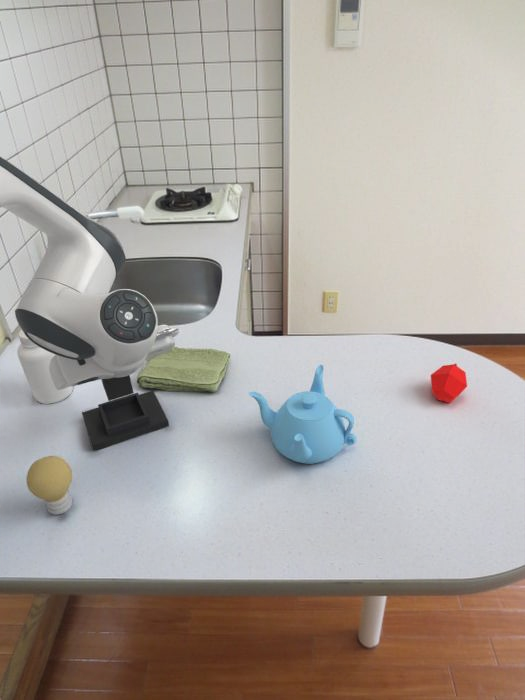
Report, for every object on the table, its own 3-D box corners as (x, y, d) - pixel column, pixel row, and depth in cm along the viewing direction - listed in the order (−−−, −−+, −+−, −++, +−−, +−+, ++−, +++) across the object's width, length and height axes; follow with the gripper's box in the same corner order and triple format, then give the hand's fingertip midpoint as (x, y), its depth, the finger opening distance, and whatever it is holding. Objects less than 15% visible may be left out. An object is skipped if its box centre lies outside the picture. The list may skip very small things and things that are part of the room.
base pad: (93, 451, 93) (89, 439, 91) (83, 418, 101) (79, 406, 99) (169, 426, 98) (166, 414, 96) (154, 395, 105) (151, 384, 104)
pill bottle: (34, 385, 110) (12, 324, 101) (74, 377, 112) (55, 316, 103) (32, 408, 103) (8, 346, 95) (74, 399, 105) (55, 337, 97)
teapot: (366, 453, 90) (371, 408, 84) (291, 488, 85) (291, 442, 79) (319, 405, 101) (321, 362, 95) (250, 433, 95) (247, 389, 90)
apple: (458, 392, 95) (472, 358, 98) (421, 384, 99) (436, 352, 102) (463, 413, 99) (476, 380, 103) (428, 405, 103) (442, 373, 107)
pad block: (108, 401, 92) (97, 359, 87) (103, 387, 96) (92, 346, 91) (133, 393, 94) (124, 352, 89) (127, 379, 97) (118, 339, 92)
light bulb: (38, 528, 80) (18, 484, 74) (41, 496, 85) (23, 452, 80) (81, 518, 81) (65, 474, 76) (82, 487, 86) (67, 443, 81)
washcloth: (219, 396, 104) (218, 383, 103) (135, 390, 107) (132, 378, 105) (232, 358, 115) (231, 346, 113) (155, 353, 118) (153, 341, 116)
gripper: (173, 308, 84) (160, 332, 97) (43, 349, 76) (47, 369, 89) (188, 344, 84) (172, 363, 96) (58, 389, 76) (60, 404, 88)
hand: (111, 366), depth 93 cm, fingers closed on pad block, 4 cm apart
